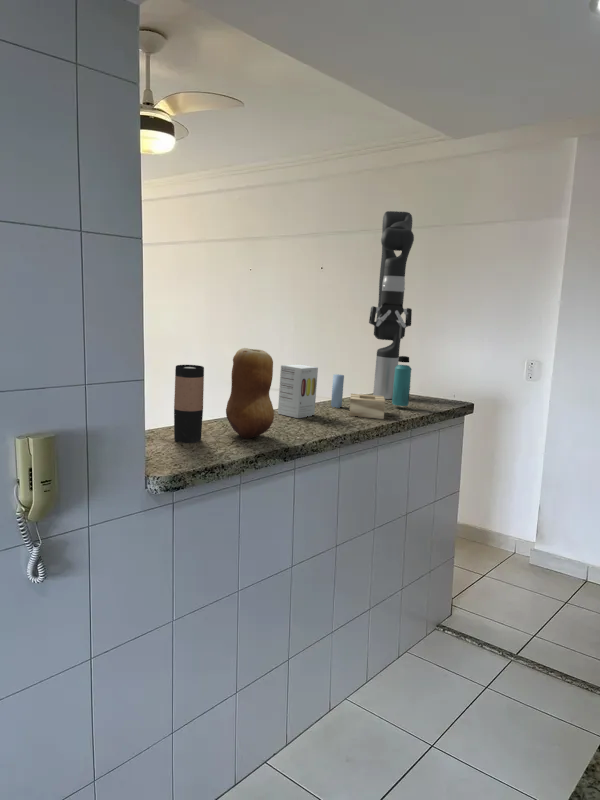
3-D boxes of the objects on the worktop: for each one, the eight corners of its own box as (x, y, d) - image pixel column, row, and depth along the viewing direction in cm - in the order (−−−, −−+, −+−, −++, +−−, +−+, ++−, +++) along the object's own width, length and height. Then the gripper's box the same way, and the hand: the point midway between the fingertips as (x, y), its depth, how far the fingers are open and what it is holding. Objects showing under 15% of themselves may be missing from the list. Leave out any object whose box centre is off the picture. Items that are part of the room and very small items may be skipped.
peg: (331, 405, 223) (333, 374, 221) (341, 406, 223) (344, 374, 221) (330, 407, 219) (333, 375, 217) (341, 408, 219) (343, 376, 217)
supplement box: (297, 418, 196) (301, 368, 193) (276, 414, 202) (279, 364, 199) (315, 415, 204) (318, 366, 200) (294, 410, 209) (297, 363, 206)
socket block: (349, 409, 218) (350, 393, 217) (382, 412, 217) (383, 396, 216) (349, 416, 206) (350, 399, 205) (383, 418, 205) (385, 401, 204)
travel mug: (167, 438, 161) (169, 365, 157) (191, 434, 166) (193, 364, 162) (183, 444, 155) (185, 369, 152) (207, 440, 161) (210, 367, 157)
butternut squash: (282, 438, 168) (287, 351, 164) (245, 445, 159) (249, 352, 154) (250, 428, 178) (255, 345, 173) (214, 434, 168) (217, 346, 164)
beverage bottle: (409, 410, 224) (414, 357, 220) (392, 409, 224) (396, 356, 220) (406, 407, 230) (411, 355, 227) (389, 406, 230) (394, 354, 227)
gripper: (409, 290, 205) (404, 337, 208) (369, 288, 202) (365, 336, 205) (417, 291, 198) (412, 340, 201) (376, 289, 195) (372, 338, 198)
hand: (388, 338), depth 203 cm, fingers open, 8 cm apart
